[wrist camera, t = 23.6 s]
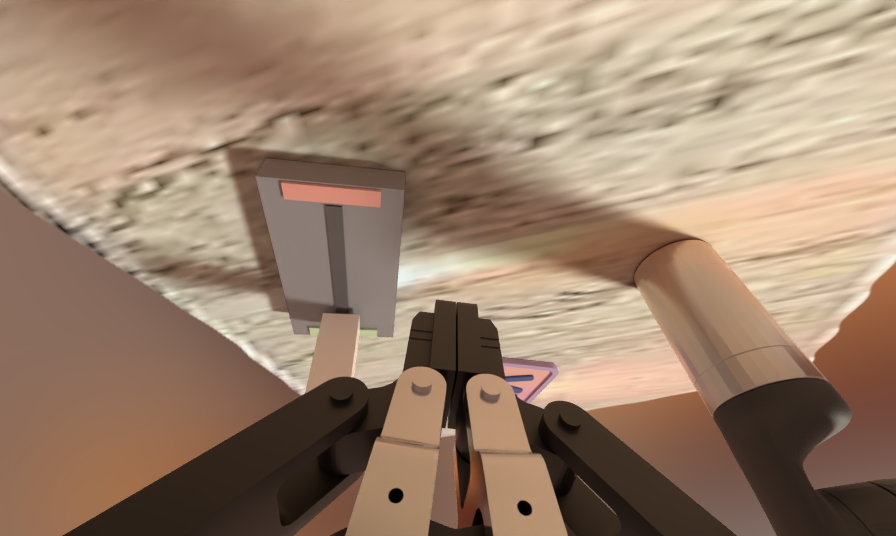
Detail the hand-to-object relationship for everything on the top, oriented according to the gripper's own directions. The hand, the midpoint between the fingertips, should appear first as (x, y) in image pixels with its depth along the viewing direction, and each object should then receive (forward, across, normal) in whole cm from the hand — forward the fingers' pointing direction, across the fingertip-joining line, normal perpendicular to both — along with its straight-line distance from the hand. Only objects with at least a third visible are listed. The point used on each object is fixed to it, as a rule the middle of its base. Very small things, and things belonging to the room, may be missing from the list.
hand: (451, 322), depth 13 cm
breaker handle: (+24, +11, +18) cm, 32 cm away
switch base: (+25, +11, +11) cm, 29 cm away
